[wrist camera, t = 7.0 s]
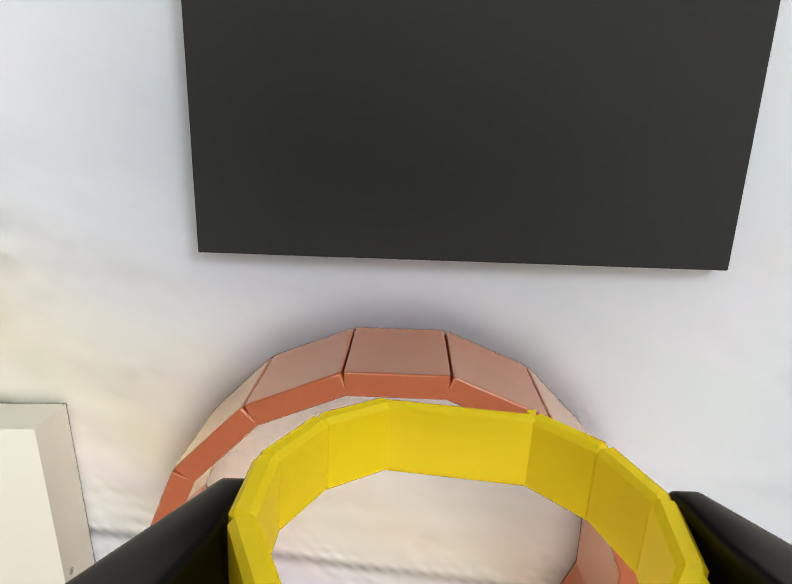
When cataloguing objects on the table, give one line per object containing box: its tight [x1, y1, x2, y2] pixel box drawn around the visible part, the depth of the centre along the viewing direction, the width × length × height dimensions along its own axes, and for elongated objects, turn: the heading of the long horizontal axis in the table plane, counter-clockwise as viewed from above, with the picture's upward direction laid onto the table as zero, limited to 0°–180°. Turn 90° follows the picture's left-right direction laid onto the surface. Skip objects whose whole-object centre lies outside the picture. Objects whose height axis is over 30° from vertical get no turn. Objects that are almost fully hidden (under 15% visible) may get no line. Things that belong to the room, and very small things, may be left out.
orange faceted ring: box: [151, 327, 639, 584], centre depth 21 cm, size 17×17×4 cm
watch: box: [227, 398, 710, 584], centre depth 8 cm, size 6×3×6 cm, turn 87°
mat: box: [181, 0, 780, 270], centre depth 18 cm, size 18×14×1 cm
